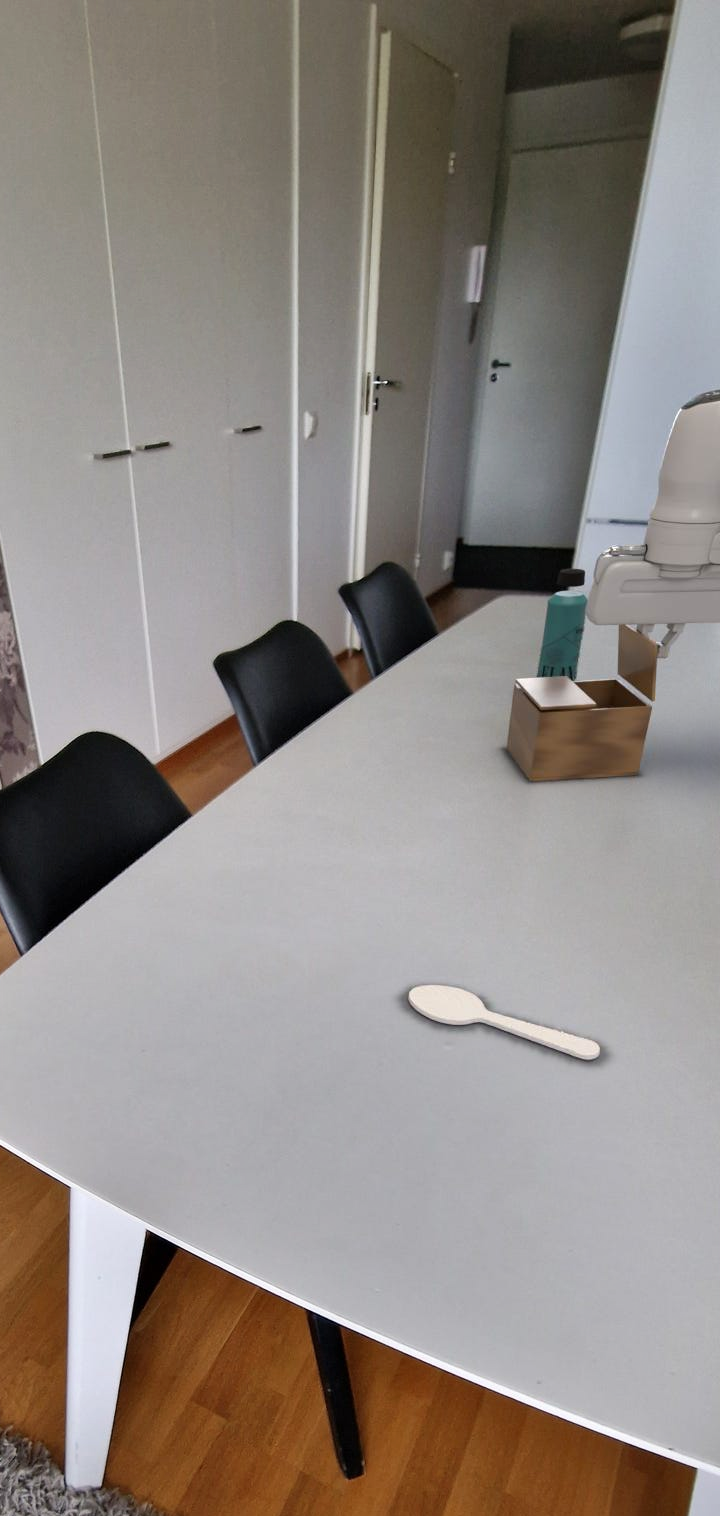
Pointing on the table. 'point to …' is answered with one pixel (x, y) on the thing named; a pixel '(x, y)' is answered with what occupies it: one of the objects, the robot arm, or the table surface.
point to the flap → (637, 660)
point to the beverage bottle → (563, 628)
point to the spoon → (492, 1019)
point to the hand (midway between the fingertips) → (652, 657)
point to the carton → (576, 728)
